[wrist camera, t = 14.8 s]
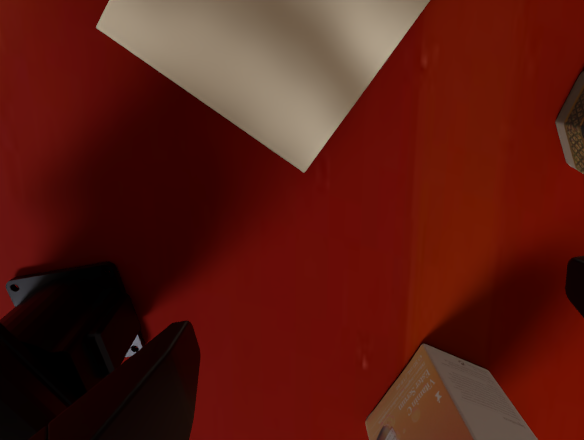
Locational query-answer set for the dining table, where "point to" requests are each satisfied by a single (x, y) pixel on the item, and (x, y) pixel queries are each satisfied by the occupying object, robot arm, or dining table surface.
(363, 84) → the white lined paper sheet
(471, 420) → the small box
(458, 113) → the dining table surface
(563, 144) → the ceramic cup
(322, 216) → the dining table surface
